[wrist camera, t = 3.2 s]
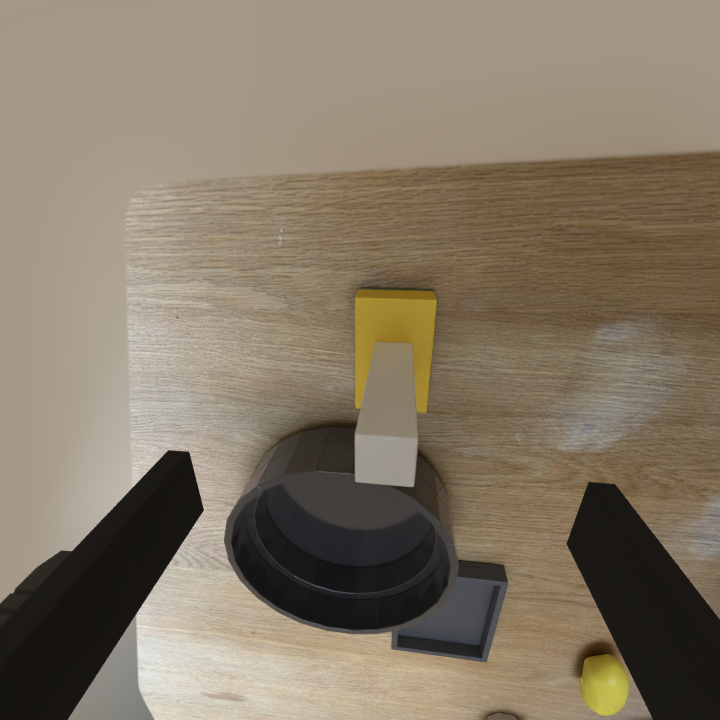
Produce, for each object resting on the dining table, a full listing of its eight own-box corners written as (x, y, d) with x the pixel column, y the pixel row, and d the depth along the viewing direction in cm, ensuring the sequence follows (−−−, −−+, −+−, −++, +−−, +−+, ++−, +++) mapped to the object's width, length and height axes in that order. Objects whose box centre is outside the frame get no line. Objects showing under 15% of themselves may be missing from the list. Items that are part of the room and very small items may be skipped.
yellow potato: (564, 678, 39) (580, 724, 36) (586, 637, 36) (606, 684, 32) (603, 684, 39) (623, 732, 35) (628, 643, 35) (653, 692, 32)
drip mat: (397, 553, 34) (396, 570, 32) (503, 565, 33) (508, 582, 31) (391, 632, 39) (391, 649, 38) (483, 644, 38) (486, 662, 37)
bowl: (490, 516, 31) (509, 583, 25) (349, 591, 37) (340, 656, 32) (346, 381, 27) (332, 425, 21) (218, 490, 33) (182, 546, 28)
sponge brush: (360, 287, 24) (317, 365, 12) (433, 289, 23) (464, 372, 11) (360, 388, 27) (325, 528, 15) (424, 392, 26) (440, 540, 15)
